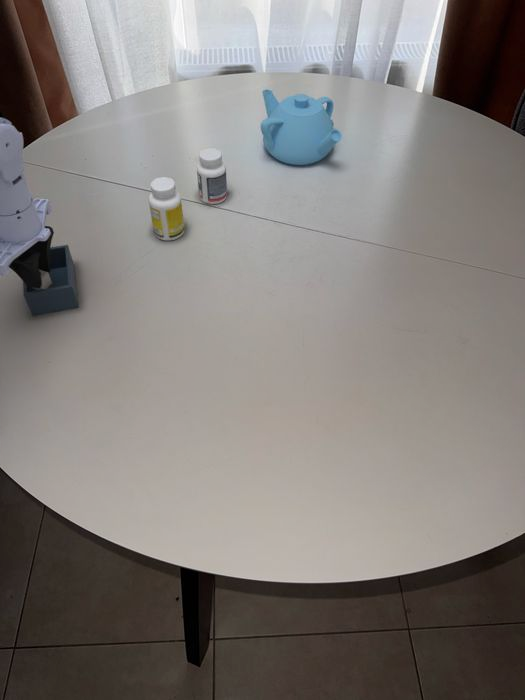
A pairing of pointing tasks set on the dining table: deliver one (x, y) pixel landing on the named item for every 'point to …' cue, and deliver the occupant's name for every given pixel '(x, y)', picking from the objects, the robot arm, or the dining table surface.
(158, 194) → the supplement bottle
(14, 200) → the robot arm
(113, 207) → the dining table surface
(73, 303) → the bin
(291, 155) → the teapot
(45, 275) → the cube with brown bumps
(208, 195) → the pill bottle
